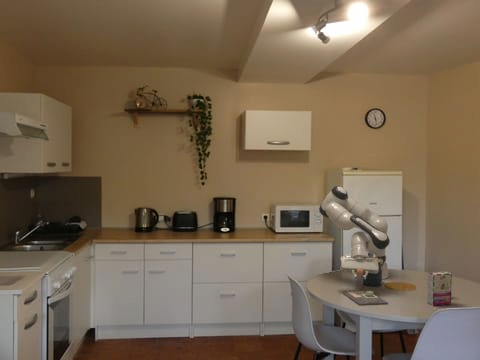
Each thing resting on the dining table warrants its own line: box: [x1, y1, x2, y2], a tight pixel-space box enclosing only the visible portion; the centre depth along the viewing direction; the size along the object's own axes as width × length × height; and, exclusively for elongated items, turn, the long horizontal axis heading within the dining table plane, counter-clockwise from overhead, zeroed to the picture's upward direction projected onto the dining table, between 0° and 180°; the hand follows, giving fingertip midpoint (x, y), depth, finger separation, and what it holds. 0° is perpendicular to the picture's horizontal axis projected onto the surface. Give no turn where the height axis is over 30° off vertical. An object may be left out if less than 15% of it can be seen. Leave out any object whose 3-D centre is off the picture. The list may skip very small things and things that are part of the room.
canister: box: [363, 258, 383, 287], centre depth 262 cm, size 13×13×18 cm
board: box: [340, 289, 389, 307], centre depth 233 cm, size 22×16×3 cm
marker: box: [355, 269, 364, 291], centre depth 237 cm, size 4×4×11 cm
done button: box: [366, 290, 374, 297], centre depth 226 cm, size 4×4×3 cm
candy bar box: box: [426, 270, 453, 307], centre depth 225 cm, size 11×5×16 cm, turn 105°
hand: (359, 278), depth 236 cm, fingers closed on marker, 3 cm apart
